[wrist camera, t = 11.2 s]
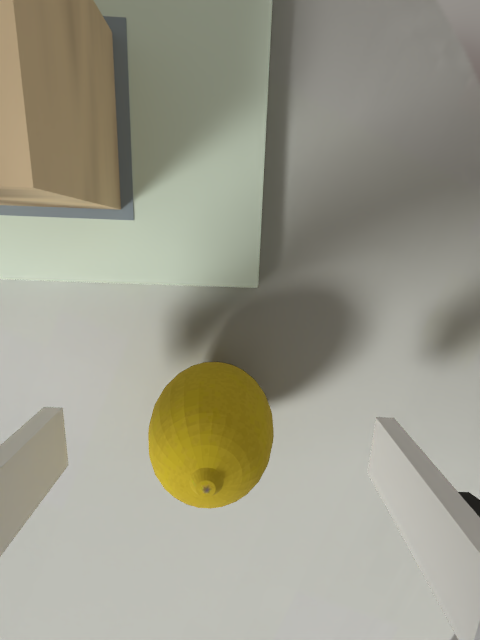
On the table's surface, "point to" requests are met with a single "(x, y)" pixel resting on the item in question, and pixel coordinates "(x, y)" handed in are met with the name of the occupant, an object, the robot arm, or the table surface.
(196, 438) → the lemon
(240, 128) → the board
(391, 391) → the table surface
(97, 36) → the oak cube
